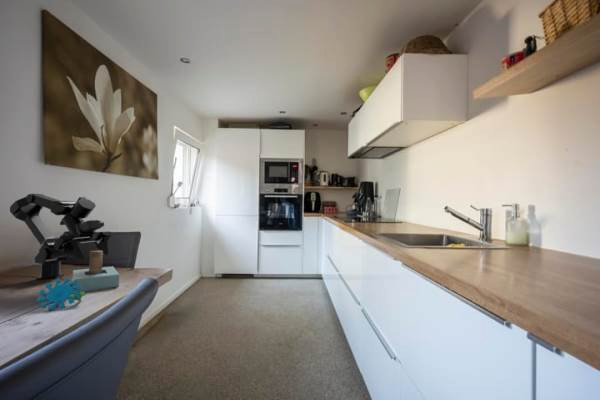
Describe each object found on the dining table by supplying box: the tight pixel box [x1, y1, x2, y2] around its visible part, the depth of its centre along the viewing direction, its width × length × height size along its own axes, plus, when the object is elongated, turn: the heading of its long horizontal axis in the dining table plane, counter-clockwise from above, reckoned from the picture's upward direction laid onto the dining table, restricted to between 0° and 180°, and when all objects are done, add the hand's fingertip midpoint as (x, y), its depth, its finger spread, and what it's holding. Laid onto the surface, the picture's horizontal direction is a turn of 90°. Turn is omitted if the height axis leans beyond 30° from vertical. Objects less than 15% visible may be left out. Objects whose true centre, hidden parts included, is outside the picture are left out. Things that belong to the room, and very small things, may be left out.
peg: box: [88, 249, 104, 275], centre depth 104 cm, size 4×4×12 cm
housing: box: [71, 265, 120, 292], centre depth 104 cm, size 16×13×4 cm
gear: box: [36, 277, 86, 311], centre depth 83 cm, size 11×6×10 cm
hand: (95, 256), depth 104 cm, fingers open, 9 cm apart
